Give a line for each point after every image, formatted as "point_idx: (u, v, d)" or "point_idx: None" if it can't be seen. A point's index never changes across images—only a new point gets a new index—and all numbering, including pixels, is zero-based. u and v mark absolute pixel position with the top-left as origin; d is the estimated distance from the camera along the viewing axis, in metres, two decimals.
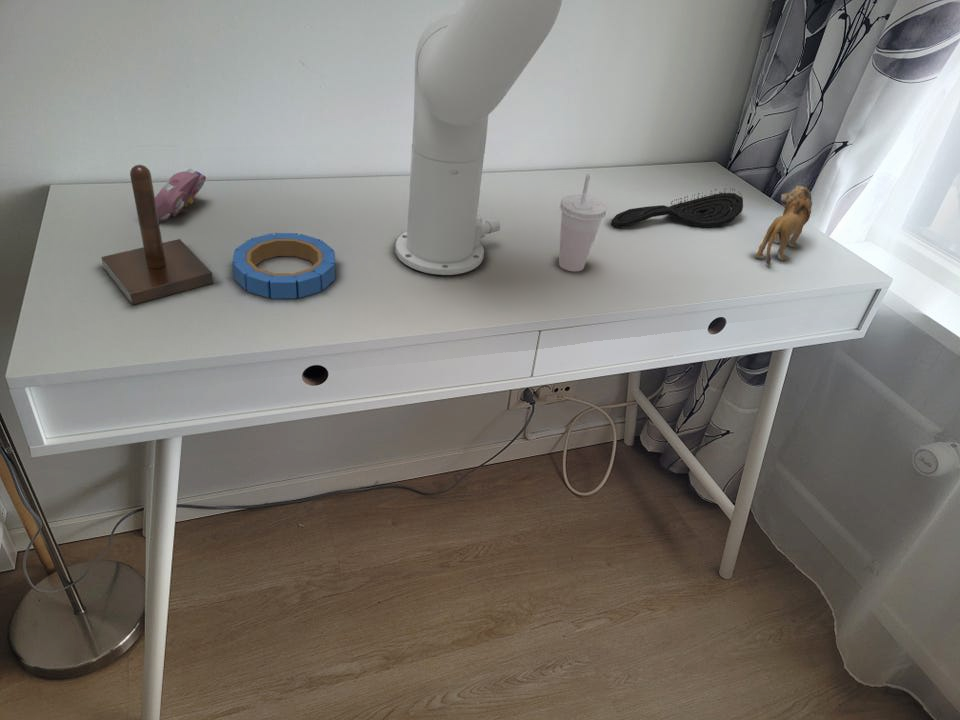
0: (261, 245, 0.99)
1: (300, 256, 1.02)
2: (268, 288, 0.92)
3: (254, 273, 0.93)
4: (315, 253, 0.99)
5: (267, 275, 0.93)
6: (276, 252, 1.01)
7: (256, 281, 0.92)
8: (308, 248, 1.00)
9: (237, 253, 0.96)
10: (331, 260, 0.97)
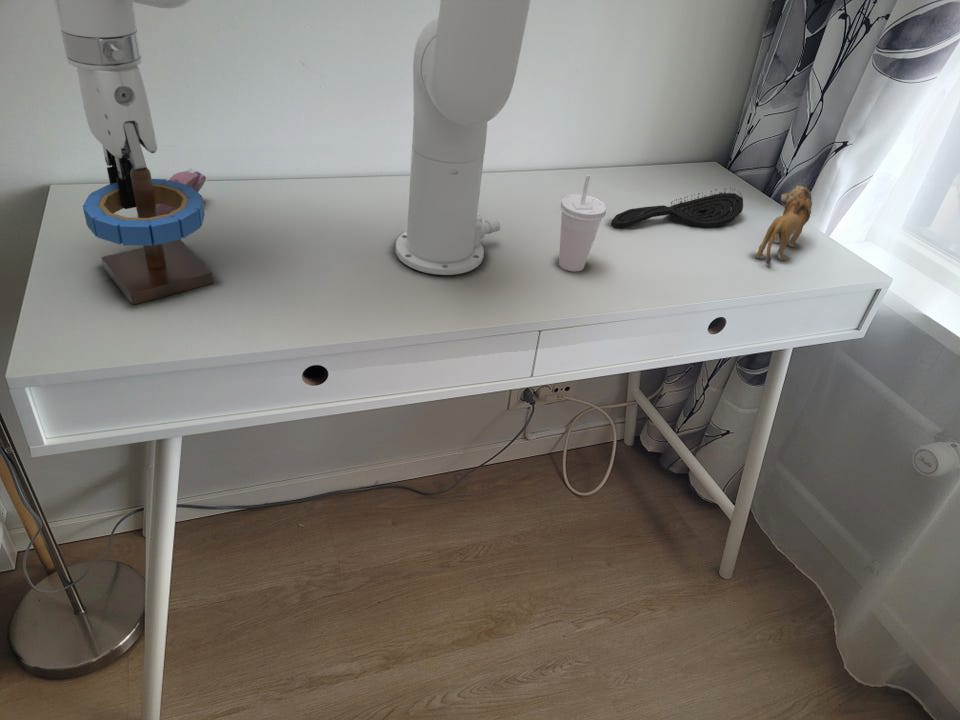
0: None
1: (168, 204, 0.93)
2: (118, 233, 0.84)
3: (104, 217, 0.84)
4: (181, 199, 0.91)
5: (118, 219, 0.84)
6: None
7: (105, 225, 0.84)
8: (175, 194, 0.92)
9: (91, 197, 0.88)
10: (196, 206, 0.89)
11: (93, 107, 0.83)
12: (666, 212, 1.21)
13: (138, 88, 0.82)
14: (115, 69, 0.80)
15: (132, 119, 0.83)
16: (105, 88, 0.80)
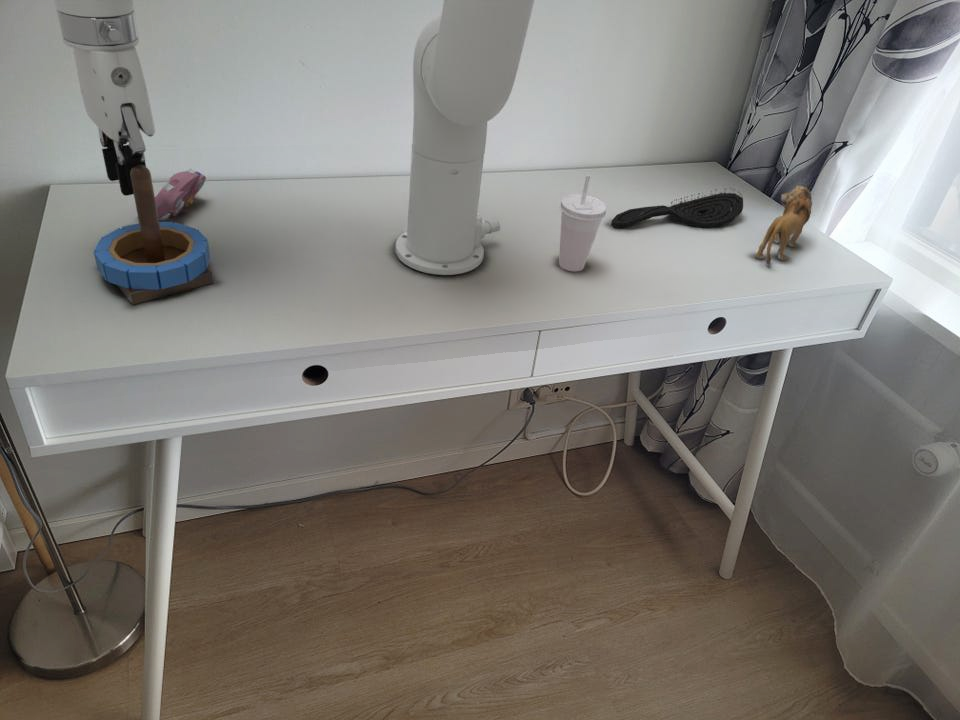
0: (131, 233, 0.94)
1: (175, 246, 0.97)
2: (127, 278, 0.88)
3: (114, 262, 0.89)
4: (187, 243, 0.95)
5: (127, 265, 0.88)
6: None
7: (114, 271, 0.88)
8: (181, 237, 0.96)
9: (101, 242, 0.92)
10: (201, 250, 0.93)
11: (90, 89, 0.82)
12: (666, 212, 1.21)
13: (135, 69, 0.81)
14: (112, 50, 0.79)
15: (129, 101, 0.82)
16: (101, 69, 0.79)
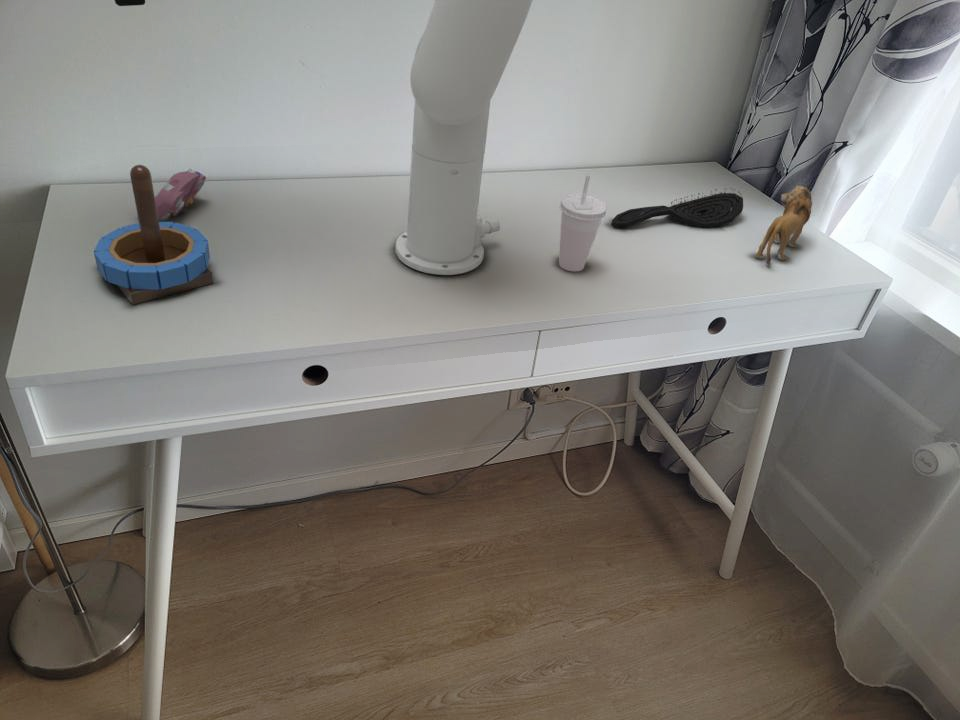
0: (131, 233, 0.94)
1: (175, 246, 0.97)
2: (127, 278, 0.88)
3: (114, 262, 0.89)
4: (187, 243, 0.95)
5: (127, 265, 0.88)
6: None
7: (114, 271, 0.88)
8: (181, 237, 0.96)
9: (101, 242, 0.92)
10: (201, 250, 0.93)
11: None
12: (666, 212, 1.21)
13: None
14: None
15: None
16: None
